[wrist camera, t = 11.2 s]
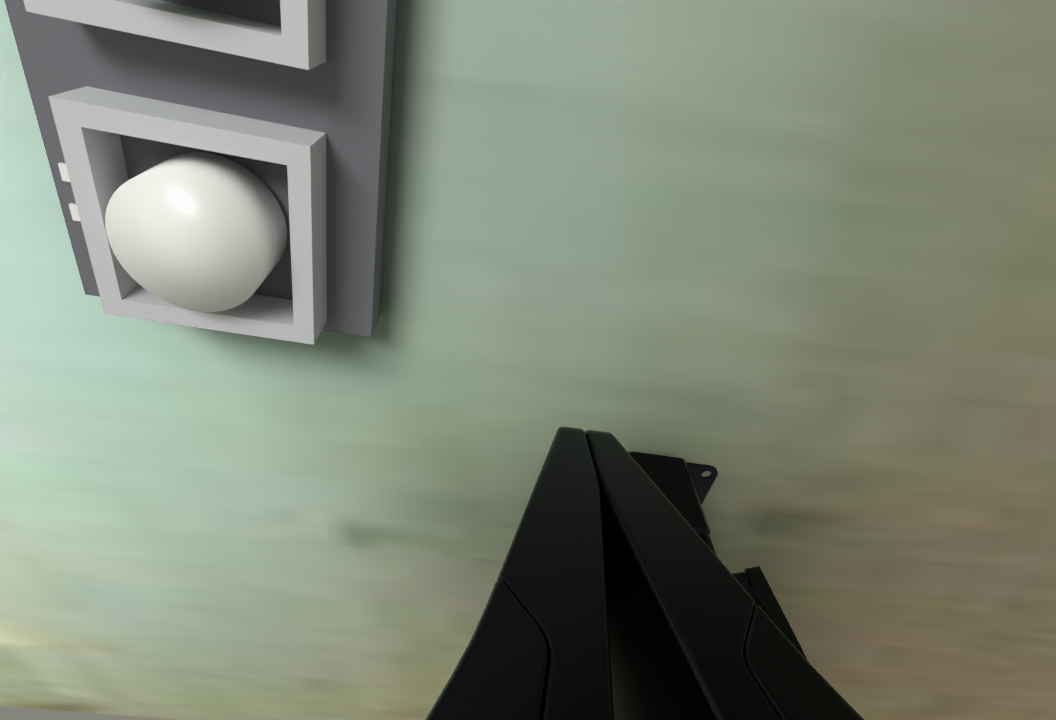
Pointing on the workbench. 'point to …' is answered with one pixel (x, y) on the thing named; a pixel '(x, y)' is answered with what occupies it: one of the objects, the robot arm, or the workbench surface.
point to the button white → (197, 231)
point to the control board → (225, 137)
